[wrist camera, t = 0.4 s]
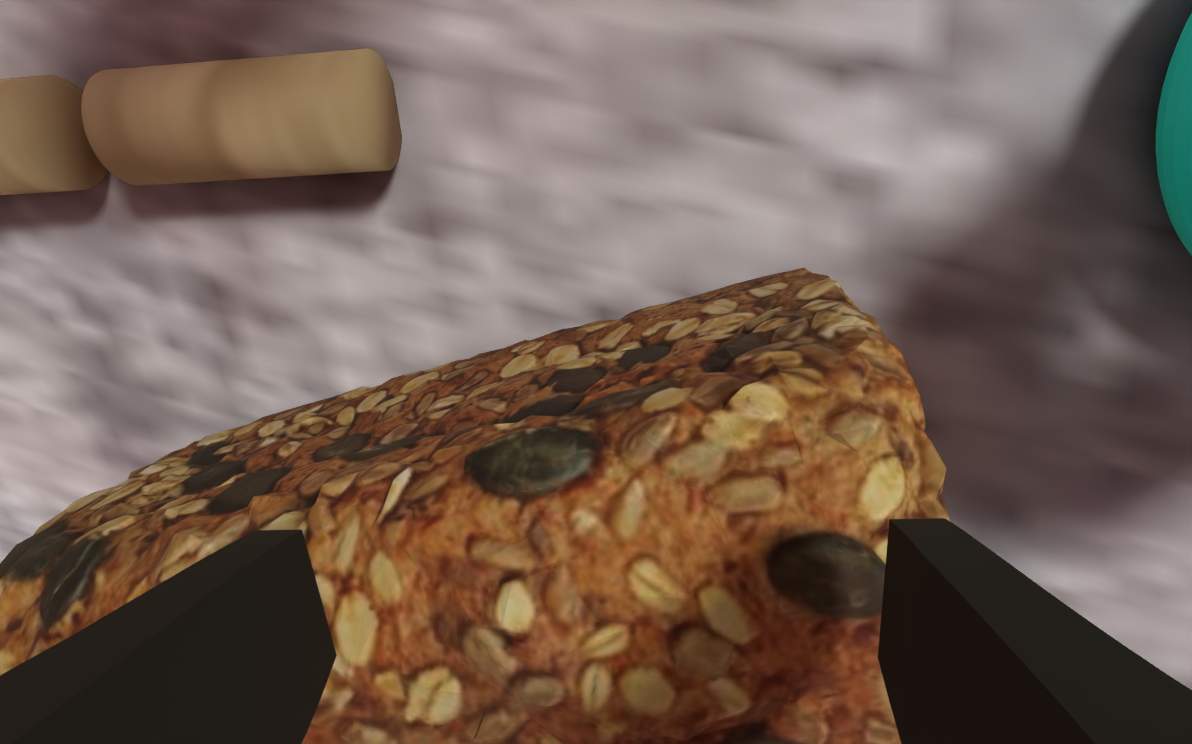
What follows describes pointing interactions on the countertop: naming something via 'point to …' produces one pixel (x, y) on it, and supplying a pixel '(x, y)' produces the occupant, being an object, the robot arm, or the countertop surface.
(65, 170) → the dowel
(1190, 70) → the donuts
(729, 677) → the bread
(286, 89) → the dowel
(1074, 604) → the countertop surface
